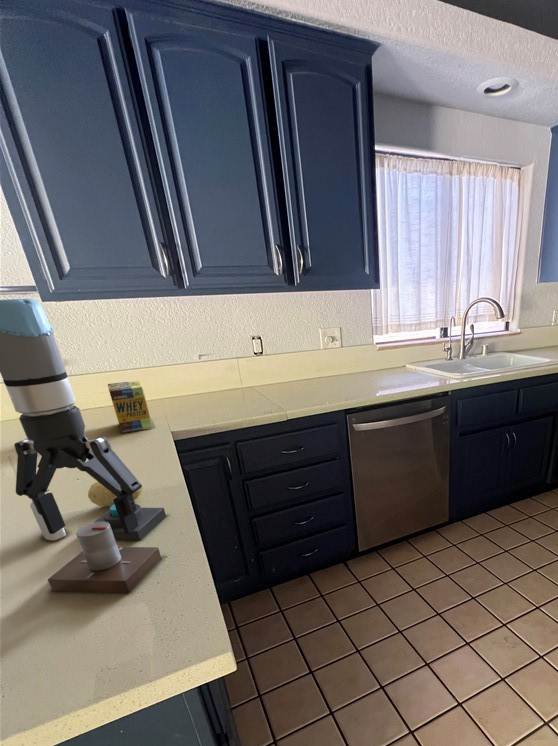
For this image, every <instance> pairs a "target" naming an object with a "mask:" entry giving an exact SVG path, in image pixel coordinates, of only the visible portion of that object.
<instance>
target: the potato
mask: <svg viewBox="0 0 558 746" xmlns="http://www.w3.org/2000/svg"><path fill="white" fill-rule="evenodd" d="M120 489H121V488H120ZM121 490H122V489H121ZM142 491H143V486H142V487H141V488H140V489H139V490H138V491H136V492H135V493H133V494H132V496H133V499H134V501H135V500H136V499H138V498H139V497H140V496H141V494H142ZM87 493H88V494H87V497H88V499H89V500H90V502H91V503H92V504H94V505H95V506H98V507H103V508H104V507H105V508H106V507H111V506H112V505H114V501H113V499H115V498H116V497H117V496H115V495H114V494H113V493H112V492H110V491H109V490H108V489H107V488H105V487H104V486H103V485H102V484H100V483H99V482H98V481H96V482H94V483H93V484H91V485H90V488H89V489H88V492H87Z"/></svg>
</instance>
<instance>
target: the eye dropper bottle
mask: <svg viewBox="0 0 558 746" xmlns="http://www.w3.org/2000/svg"><path fill="white" fill-rule="evenodd" d="M30 509H31V512H32V513H33V516H34V518H35V521H36V523H37V525H38V527H39V529H40V532H41V534H42V536H43V538H44V539H46V540H48V541H57V540H60V539H62V538H64V537H66V531H65V527H63V528H62V529H60V530H59V531H57V532H56V533H54V534H50V533H49V531H48V529H47V526H46V524H45V522H44V520H43V517H42V515H40V514H39V513H38V512H37V509H36V507H35V505H34V503H33V500H32V499H31V503H30Z"/></svg>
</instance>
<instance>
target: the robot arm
mask: <svg viewBox="0 0 558 746" xmlns="http://www.w3.org/2000/svg"><path fill="white" fill-rule="evenodd" d="M66 371H67V370H66V368H65V365H64V362H63V360H62V355H61V353H60V350H59V347H58V344H57V342H56V338H55V335H54V330H53V327H52V326H51V324H50V322H49V320H48V317H47V314H46V313H45V310H44V308H43V306H42V304H41V303H40V302H39V301H38V300H36V299H34V298H11V299H8V298H7V299H0V376H1V378H2V381H3V383H4V385H5V387H6V390H7V393H8V396H9V398H10V400H11V403H12V405H13V408H14V411H15V413H16V412H17V413H18V414H20V416H19V418H18V420H19V422H20V424H21V427H22V429H23V432H24V434H25V436H26V438H25V439H22V440H20V441H17V442H15V443H14V449H15V452H16V455H17V463H16V477H15V493H16V495H17V496H20V497H22V496H26V497H27V498H28V499H30V500H31V501H32V500H33V501H32V502H33V503H34V505H35V507H36V509H37V512H38V513H39V514H40V515H42V517H43V520H44V522H45V524H46V526H47V529H48V531H49V533H50V534H54V533H56V532H57V531H59V530H60V529H62V528H65V527H66V523H65V520H64V518H63V516H62V514H61V511H60V508H59V506H58V503H57V501H56V499H55V496H54V494H53V492H49V491H50V489H49V486H50V484H51V482H52V479H53V477H54V475H55V473H56V471H57V469H64V468H67V469H78V471H81V472H85V473H86V474H88V475H89V476H90V477H92V479H94V480H95V481H96V482H99V483H100V484H102V485H103V486H104V487H105V488H107V489H108V490H109V491H110V492H112V493H113V494H114V495H115V496H117V497H116V498H115V499H113V501H114V504H115V507H116V510H117V513H118V515H119V518H120V521H121V524H122V527H123V530H124V533H125V534H130V533H131V532H132V531H133V530H134V529H135V528H137V527H138V526H139V525H138V522H137V519H136V516H135V513H134V512H135V511H136V505H135V504H136V503H135V500H134V499H133V496H132V494H133V493H135V492H136V491H138V490H139V489H140V488H141V487H142V488H143V485H142V483H141V481H140V480H138V478H137V477H136V476H135V475H134V473H133V472H132V471H131V470H130V469H129V468H128V467H127V466H126V464H125V463H124V462H123V460H122V459H121V458H120V457H119V456H118V455H117V454H116V452H115V451H114V450H113V448H112V447H111V444H110V442H109V440H108V438H107V437H106V436H104V435H103V436H100V437H98V438H96V439H88V438H87V436H86V434H85V429H86V424H85V422H84V419H83V415H82V413H81V410H80V408H79V407H78V406H76V405H75V403H76V402H77V399H76V397H75V394H74V393H75V392H74V390H73V388H72V385H71V382H70V380H69V376H68V374H67V372H66ZM38 455H40V456H41V457H40V460H39V461H38ZM37 468H38V469H37ZM120 488H121V489H122V490H121V489H120Z"/></svg>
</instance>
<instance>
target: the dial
mask: <svg viewBox="0 0 558 746" xmlns="http://www.w3.org/2000/svg"><path fill="white" fill-rule="evenodd" d="M93 522H94V521H93ZM93 522H91V523H88V524H85V525H83V526H81V527H80V528H79V529H77V530H76V532H75V535H76V539H77V540H78V543H79V545H80V548H81V552H82V551H83V553H84V556H85V558H86V561H87V563H88V566H89V568H90V569H91V570H95V571H98V570H104V569H107V568H110V567H112V566H114V565H116V564H117V563H118V562H119V561H120V560H121V555H120V552H119V549H118V547H119V546H118V544H117V540H115V538H114V535H113V532H112V529H111V527H110V524H109V523H108V522H103V521H102V522H94V523H93Z"/></svg>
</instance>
